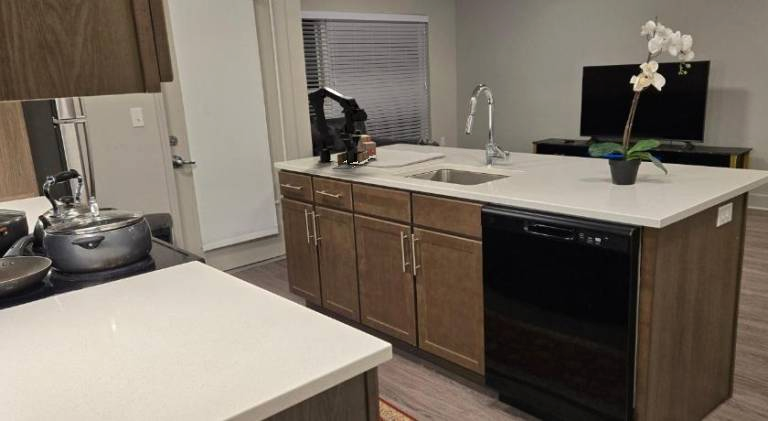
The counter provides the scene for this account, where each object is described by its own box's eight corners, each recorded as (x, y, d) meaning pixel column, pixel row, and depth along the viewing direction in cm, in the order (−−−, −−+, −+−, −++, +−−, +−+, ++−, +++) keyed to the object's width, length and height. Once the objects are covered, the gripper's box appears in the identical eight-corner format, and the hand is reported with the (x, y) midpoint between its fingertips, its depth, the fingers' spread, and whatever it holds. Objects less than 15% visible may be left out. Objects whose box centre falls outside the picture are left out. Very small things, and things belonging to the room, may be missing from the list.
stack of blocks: (376, 158, 331) (375, 137, 328) (366, 159, 329) (365, 138, 326) (366, 154, 351) (365, 134, 348) (356, 155, 349) (355, 135, 346)
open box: (348, 161, 326) (347, 150, 324) (369, 161, 321) (368, 150, 320) (337, 165, 313) (337, 154, 311) (359, 165, 308) (358, 154, 307)
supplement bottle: (353, 162, 321) (352, 141, 318) (361, 163, 316) (360, 141, 313) (344, 164, 316) (342, 142, 313) (352, 165, 311) (350, 143, 309)
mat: (340, 165, 312) (340, 164, 312) (357, 165, 309) (356, 165, 309) (332, 168, 303) (332, 168, 303) (349, 169, 300) (349, 168, 300)
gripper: (343, 120, 322) (345, 147, 326) (329, 123, 305) (331, 152, 309) (362, 119, 318) (363, 147, 322) (348, 123, 301) (350, 152, 305)
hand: (351, 150), depth 314 cm, fingers open, 9 cm apart
